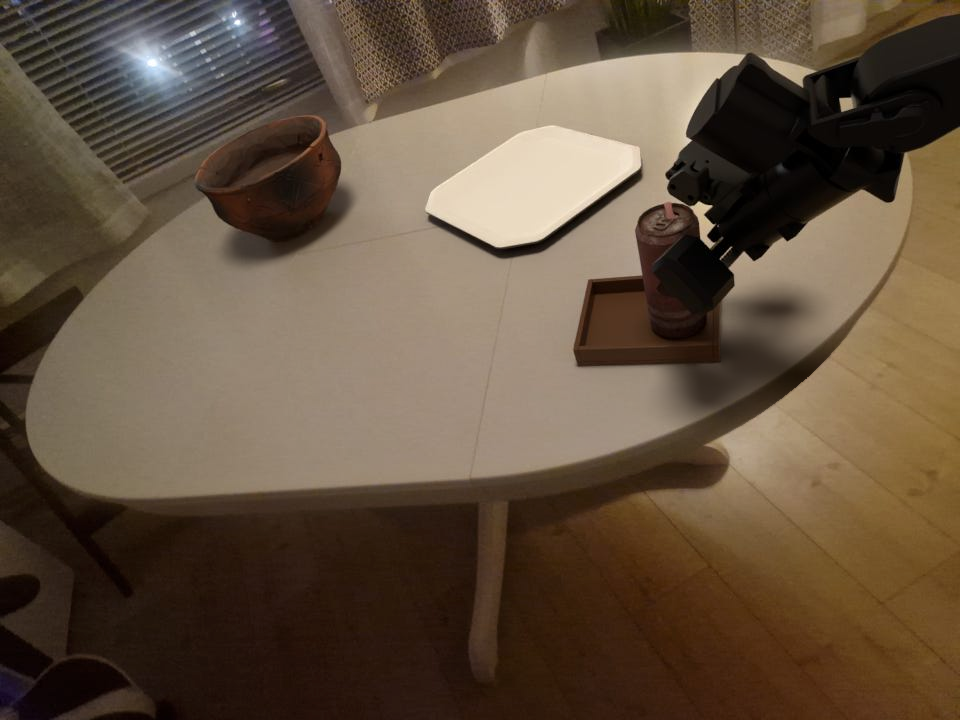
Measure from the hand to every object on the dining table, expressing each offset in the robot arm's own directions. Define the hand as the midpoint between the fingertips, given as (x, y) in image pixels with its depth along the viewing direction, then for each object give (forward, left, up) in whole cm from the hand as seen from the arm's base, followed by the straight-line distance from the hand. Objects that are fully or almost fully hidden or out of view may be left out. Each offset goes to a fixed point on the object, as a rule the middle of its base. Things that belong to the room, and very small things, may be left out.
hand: (685, 264), depth 66 cm
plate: (+26, -34, -9) cm, 43 cm away
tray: (+5, -1, -9) cm, 10 cm away
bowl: (+71, -34, -9) cm, 79 cm away
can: (+1, -1, -9) cm, 9 cm away
